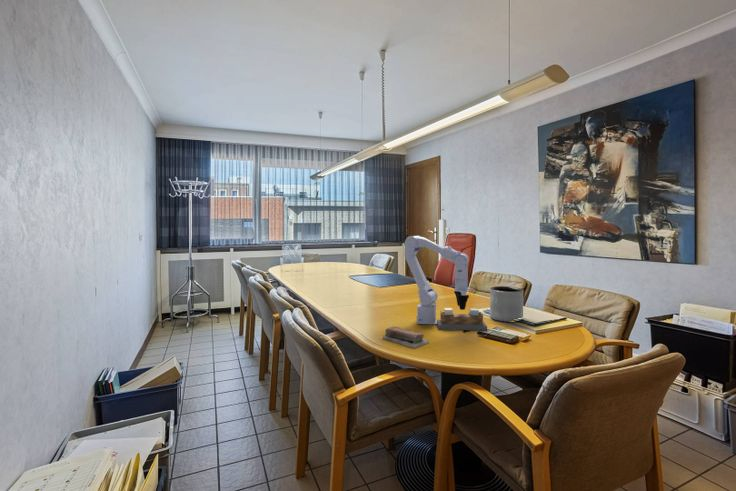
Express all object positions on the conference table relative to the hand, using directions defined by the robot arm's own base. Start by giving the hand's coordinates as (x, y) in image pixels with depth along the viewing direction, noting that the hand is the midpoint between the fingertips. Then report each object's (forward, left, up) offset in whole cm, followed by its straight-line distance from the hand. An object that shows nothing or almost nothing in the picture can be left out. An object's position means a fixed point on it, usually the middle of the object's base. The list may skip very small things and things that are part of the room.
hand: (461, 307), depth 175 cm
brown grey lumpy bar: (0, 0, -7) cm, 7 cm away
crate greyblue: (+6, 0, -4) cm, 7 cm away
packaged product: (-26, -22, -10) cm, 36 cm away
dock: (0, 0, -9) cm, 9 cm away
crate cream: (-6, 0, -4) cm, 7 cm away
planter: (+25, +16, -10) cm, 31 cm away
